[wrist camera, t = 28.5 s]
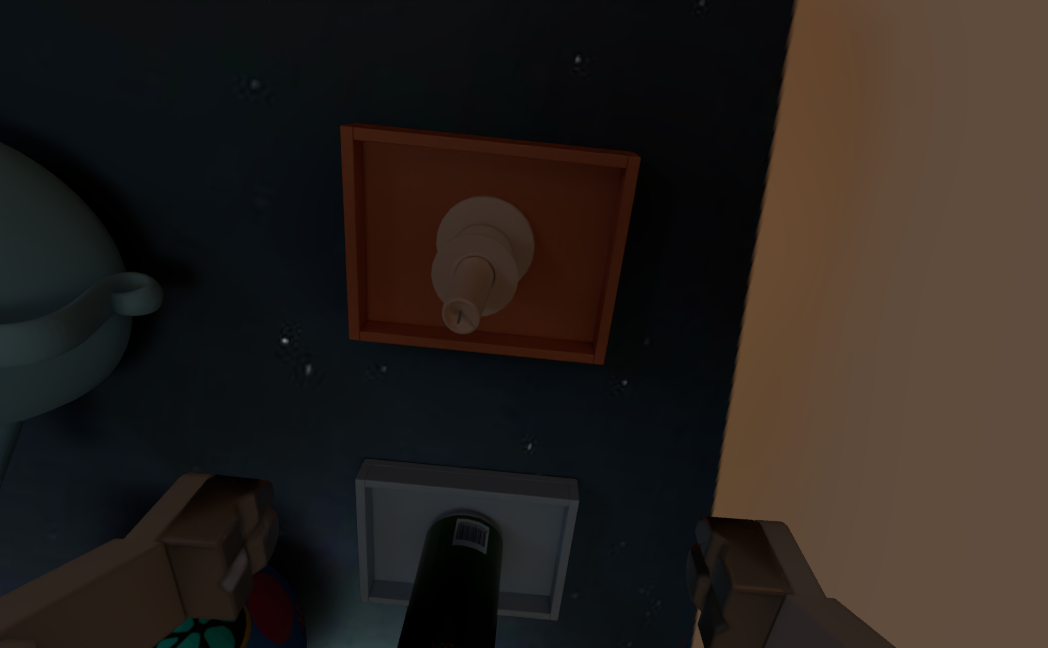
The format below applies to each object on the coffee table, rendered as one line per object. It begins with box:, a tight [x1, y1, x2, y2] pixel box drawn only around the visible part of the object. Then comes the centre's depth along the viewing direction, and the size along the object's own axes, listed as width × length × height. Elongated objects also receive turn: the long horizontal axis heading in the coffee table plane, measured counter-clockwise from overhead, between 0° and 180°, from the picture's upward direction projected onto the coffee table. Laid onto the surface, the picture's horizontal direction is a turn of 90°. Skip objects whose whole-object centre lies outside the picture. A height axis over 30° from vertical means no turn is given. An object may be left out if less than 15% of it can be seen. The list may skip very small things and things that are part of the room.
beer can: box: [397, 510, 503, 648], centre depth 32 cm, size 5×5×12 cm
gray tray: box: [355, 458, 579, 620], centre depth 37 cm, size 14×11×2 cm
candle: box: [431, 195, 535, 334], centre depth 24 cm, size 5×5×10 cm
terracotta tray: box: [340, 123, 641, 365], centre depth 28 cm, size 14×11×2 cm
